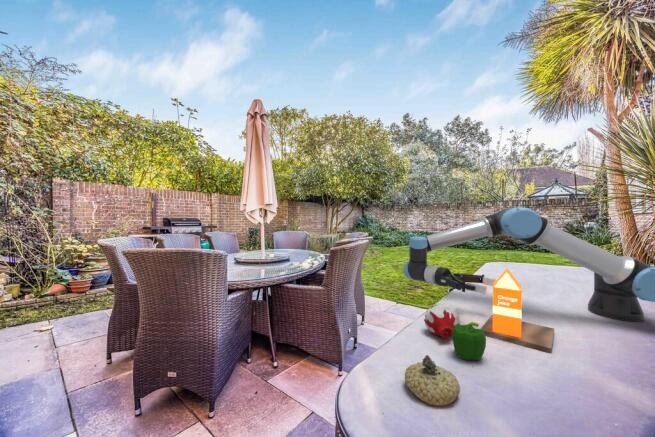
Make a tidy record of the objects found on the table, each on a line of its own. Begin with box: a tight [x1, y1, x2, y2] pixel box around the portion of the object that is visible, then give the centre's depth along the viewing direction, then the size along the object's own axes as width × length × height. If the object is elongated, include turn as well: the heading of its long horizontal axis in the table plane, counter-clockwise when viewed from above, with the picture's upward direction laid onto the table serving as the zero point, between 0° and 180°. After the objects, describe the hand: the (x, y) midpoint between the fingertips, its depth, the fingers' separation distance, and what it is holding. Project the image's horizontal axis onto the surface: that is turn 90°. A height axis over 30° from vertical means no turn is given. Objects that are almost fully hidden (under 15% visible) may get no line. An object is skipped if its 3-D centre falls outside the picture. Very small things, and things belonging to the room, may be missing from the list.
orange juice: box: [492, 267, 523, 338], centre depth 87 cm, size 8×9×20 cm
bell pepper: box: [451, 321, 487, 361], centre depth 73 cm, size 8×8×10 cm
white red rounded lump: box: [423, 304, 461, 339], centre depth 86 cm, size 9×11×15 cm
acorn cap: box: [404, 354, 461, 407], centre depth 59 cm, size 10×11×10 cm
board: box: [480, 314, 555, 354], centre depth 87 cm, size 18×18×2 cm
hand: (494, 287), depth 92 cm, fingers open, 13 cm apart
